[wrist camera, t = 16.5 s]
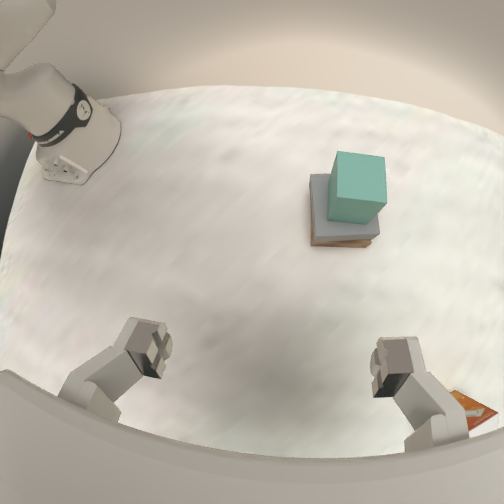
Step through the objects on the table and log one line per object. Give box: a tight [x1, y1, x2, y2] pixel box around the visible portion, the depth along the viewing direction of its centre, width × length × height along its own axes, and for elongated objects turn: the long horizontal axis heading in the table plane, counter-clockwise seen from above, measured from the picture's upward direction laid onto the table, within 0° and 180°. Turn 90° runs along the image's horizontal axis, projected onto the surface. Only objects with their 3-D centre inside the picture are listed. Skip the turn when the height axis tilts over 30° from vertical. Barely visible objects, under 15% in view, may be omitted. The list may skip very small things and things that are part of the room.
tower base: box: [311, 209, 371, 248], centre depth 39 cm, size 8×8×4 cm
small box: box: [450, 390, 499, 438], centre depth 26 cm, size 8×6×13 cm
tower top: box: [309, 174, 380, 242], centre depth 35 cm, size 8×8×4 cm
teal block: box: [327, 151, 387, 225], centre depth 30 cm, size 5×5×8 cm
